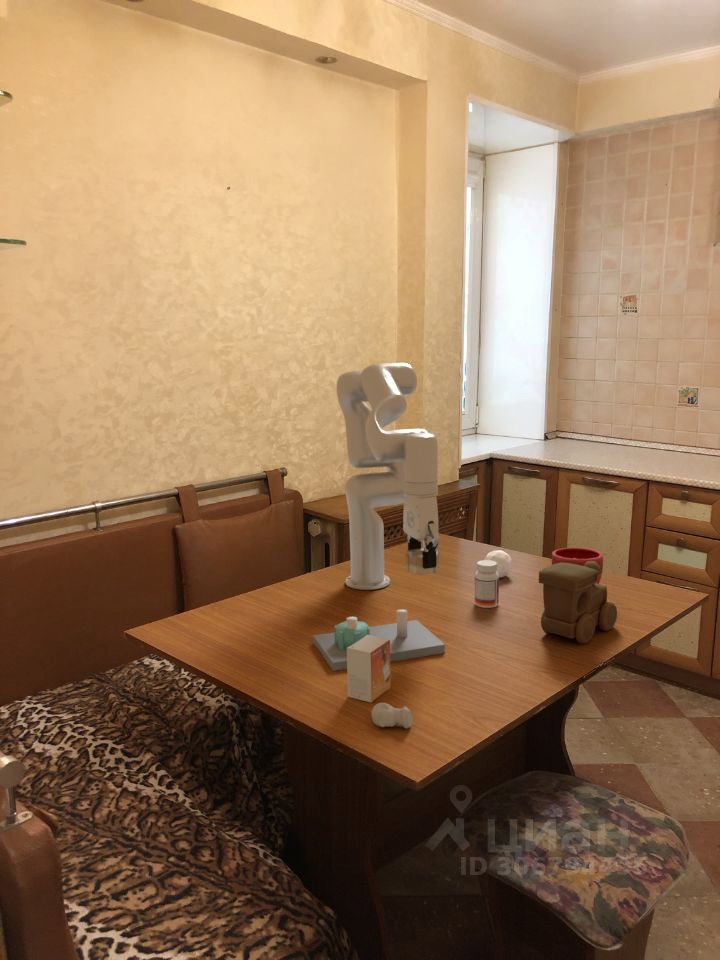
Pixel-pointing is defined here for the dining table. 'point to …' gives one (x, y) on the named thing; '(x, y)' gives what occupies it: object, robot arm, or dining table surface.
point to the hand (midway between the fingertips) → (422, 562)
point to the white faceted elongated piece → (500, 562)
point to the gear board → (403, 637)
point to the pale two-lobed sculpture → (391, 716)
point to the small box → (368, 668)
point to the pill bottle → (486, 584)
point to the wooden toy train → (575, 601)
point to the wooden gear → (419, 562)
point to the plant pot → (578, 557)
